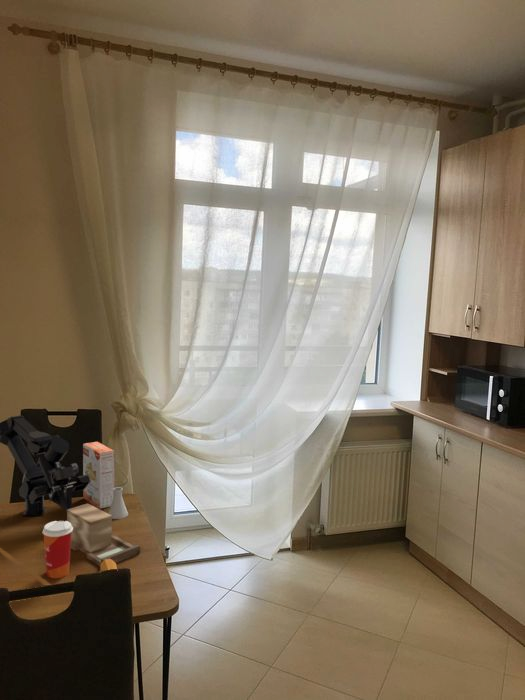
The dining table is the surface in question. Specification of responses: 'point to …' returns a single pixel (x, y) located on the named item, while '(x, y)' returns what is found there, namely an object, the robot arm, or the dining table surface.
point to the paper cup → (57, 548)
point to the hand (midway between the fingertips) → (70, 512)
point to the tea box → (90, 527)
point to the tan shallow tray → (110, 551)
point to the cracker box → (98, 474)
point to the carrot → (108, 565)
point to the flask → (118, 505)
